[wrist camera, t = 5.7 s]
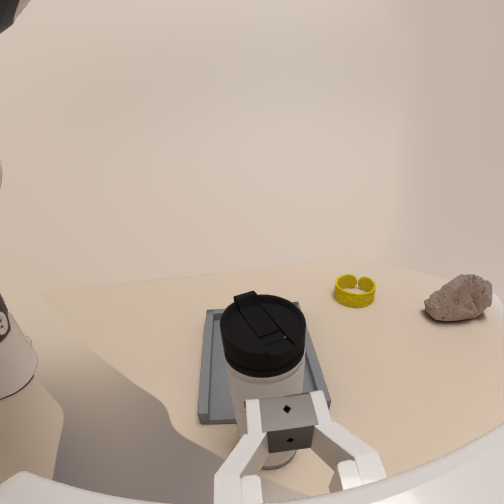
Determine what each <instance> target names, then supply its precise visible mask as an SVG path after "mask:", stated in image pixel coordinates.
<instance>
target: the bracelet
mask: <svg viewBox="0 0 504 504" xmlns="http://www.w3.org/2000/svg"><path fill="white" fill-rule="evenodd" d="M356 284H357V279H356V277H355V276H354V275H351V274H346V275H342V276H340V277H338V278H337V280H336V285H335V299H336V300H337V301H338V302H339V303H341V304H343V305H345V306H348V307H353V308H362V307H366V306H368V305H370V304H371V303H372V302H373V300H374V295H375V288H376V284H375V282H374V281H373V280H372V279H371V278H369V277H366V276H364V277H361V278H360V279H359V280H358V286H359V287H360V288H361V289H362V290H365V291H367V293H362V294H357V293H351V292H348V291H345V290H343V289H345V288H353V287H354V286H355V285H356Z"/></svg>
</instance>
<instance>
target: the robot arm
mask: <svg viewBox="0 0 504 504" xmlns="http://www.w3.org/2000/svg"><path fill="white" fill-rule="evenodd" d="M29 1H30V0H0V33H2V32H3V31H4V30H6V29H7V28H8V27H10V26H11V25H12V24H13V23H14V21H15V19H16V18H17V16H18V15H19V14H20V13H21V12H22V11H23V9H24V8H25V7H26V6H27V4H28V3H29ZM1 183H2V166H1V162H0V187H1ZM37 364H38V357H37V354H36V352H35V351H34V349H33V348H32V341H31V339H30V338H29V337H28V336H25V335H24V333H23V332H22V330H21V329H20V327H19V325H18V324H17V322H16V320H15V319H14V317H13V315H12V314H11V313H10V312H8V309H7V307H6V305H5V301H4V299H3V298H2V296H1V294H0V399H1V398H3V397H5V396H8V395H11V394H13V393H15V392H16V391H18V390H19V389H21V388H22V387H23V386H24V385H25V384H26V383H27V382H28V381H29V380H30V379H31V377H32V376H33V374H34V372H35V370H36V368H37ZM259 403H260V405H259ZM260 412H261V413H260ZM246 418H247V432H248V434H244V435H243V436H242V438H241V439H240V441H239V442H238V444H237V445H236V446H235V448H234V449H233V451H232V452H231V454H230V455H229V456H228V458H227V459H226V461H225V462H224V463H223V465H222V466H221V467H220V469H219V470H218V471H217V473H216V474H215V476H214V504H504V422H503V423H502V424H500V425H499V426H497V427H495V428H494V429H492V430H491V431H489V432H487V433H485V434H484V435H482V436H480V437H478V438H477V439H475V440H473V441H471V442H469V443H467V444H466V445H464V446H462V447H460V448H458V449H456V450H454V451H452V452H450V453H447V454H445V455H443V456H441V457H439V458H437V459H434V460H432V461H430V462H427V463H425V464H423V465H420V466H418V467H415V468H413V469H410V470H407V471H405V472H402V473H399V474H396V475H393V476H390V477H387V476H386V473H385V471H384V468H383V465H382V462H381V459H380V457H379V454H378V451H376V450H375V449H373V448H372V447H370V446H369V445H368V444H366V443H365V442H363V441H362V440H361V439H359V438H358V437H356V436H355V435H354V434H352V433H351V432H350V431H348V430H347V429H346V428H344V427H343V426H341V425H340V424H339V423H337V422H332V419H331V415H330V412H329V409H328V406H327V402H326V399H325V396H324V393H323V391H322V390H319V391H313V392H305V393H299V394H293V395H286V396H282V397H272V398H261V399H249V400H246ZM305 448H311V449H312V450H313V451H314V452H315V453H316V454H317V455H318V456H319V457H320V458H321V459H322V460H323V461H324V462H325V463H326V464H327V465H328V466H330V467H331V468H332V469H333V470H334V471H335V473H334V475H333V478H332V480H331V482H330V485H329V490H330V493H328V494H323V495H318V496H313V497H307V498H301V499H295V500H287V501H279V502H270V503H264V497H263V491H262V485H261V480H260V477H259V476H257V475H258V473H259V472H260V470H261V468H262V466H263V465H264V463H265V461H266V459H267V457H268V455H269V453H277V452H283V451H290V450H298V449H305ZM0 504H169V503H158V502H149V501H141V500H134V499H128V498H122V497H117V496H111V495H106V494H101V493H97V492H93V491H88V490H85V489H81V488H76V487H73V486H70V485H66V484H63V483H59V482H56V481H53V480H50V479H47V478H44V477H41V476H39V475H36V474H33V473H31V472H28V471H21V472H19V473H17V474H15V475H13V476H12V477H10V478H9V479H7V480H6V481H4V482H3V483H1V484H0Z"/></svg>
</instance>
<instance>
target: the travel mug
mask: <svg viewBox="0 0 504 504" xmlns="http://www.w3.org/2000/svg"><path fill="white" fill-rule="evenodd" d="M220 331H221V337H222V343H223V348H224V359H225V365H226V370H227V376H228V381H229V387H230V392H231V397H232V402H233V407H234V412H235V417H236V422H237V427H238V432H239V437H240V439H241V438H242V436H243V435H244V434H248V432H247V418H246V400H249V399H261V398H272V397H282V396H286V395H293V394H299V393H302V391H303V378H304V364H305V335H306V321H305V317H304V315H303V313H302V312H301V310H300V309H299V308H298V307H297V306H296V305H295V304H293V303H292V302H290V301H288V300H286V299H284V298H281V297H277V296H273V295H257V294H256V293H255V291H251V292H247V293H244V294H240V295H237V296H234V303H232V304H231V305H229V306H228V307H227V308H226V309H225V311H224V312H223V314H222V316H221V319H220ZM259 405H260V403H259ZM260 413H261V412H260ZM295 453H296V450H290V451H283V452H277V453H269V455H268V457H267V459H266V461H265V463H264V465H263V466H262V469H275V468H279V467H282V466H284V465H286V464H287V463H289V462H290V461H291V460H292V458H293V457H294V456H295Z"/></svg>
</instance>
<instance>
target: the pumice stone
mask: <svg viewBox="0 0 504 504" xmlns="http://www.w3.org/2000/svg"><path fill="white" fill-rule="evenodd" d="M424 303H425V310H426V312H427V313H428V314H429V315H430V316H431V317H432V318H434V319H435V320H442V321H452V320H453V321H457V320H464V319H470V318H476V317H477V316H478V315H480V314H481V313H482V312H483V311H484V310H485V309H486V308H487V307H490V306H491V303H492V284H491V283H490V282H489V281H487V280H486V281H484V280H483V279H482V278H481V277H479V276H476V275H468V274H467V275H465V276H464V275H462V274H461V275H459V276H457V277H456V278H455V279H453V280H451V281H449V282H448V283H447V284H445V285H443V286H442V288H441V289H440V290H437V291H435V292H434V293H433V294H432V295H430V298H429V299H426V300H425V301H424Z"/></svg>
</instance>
